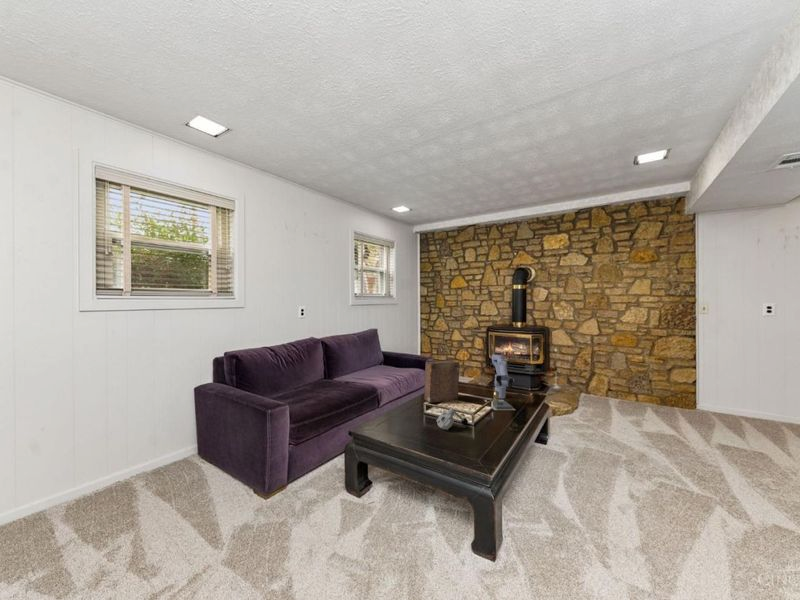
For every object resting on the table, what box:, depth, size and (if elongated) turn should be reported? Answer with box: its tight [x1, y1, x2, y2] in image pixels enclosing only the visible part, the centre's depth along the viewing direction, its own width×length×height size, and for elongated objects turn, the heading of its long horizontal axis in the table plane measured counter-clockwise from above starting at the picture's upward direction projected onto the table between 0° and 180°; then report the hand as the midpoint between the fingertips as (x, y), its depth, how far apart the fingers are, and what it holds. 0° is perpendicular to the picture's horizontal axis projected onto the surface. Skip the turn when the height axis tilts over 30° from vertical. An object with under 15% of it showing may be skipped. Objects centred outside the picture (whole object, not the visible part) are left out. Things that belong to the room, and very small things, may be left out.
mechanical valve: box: [436, 406, 469, 431], centre depth 211 cm, size 10×18×15 cm
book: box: [423, 359, 460, 404], centre depth 261 cm, size 25×9×30 cm, turn 115°
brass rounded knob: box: [492, 390, 500, 401], centre depth 259 cm, size 4×4×8 cm
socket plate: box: [483, 399, 516, 411], centre depth 253 cm, size 22×16×3 cm
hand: (505, 386), depth 252 cm, fingers open, 7 cm apart
